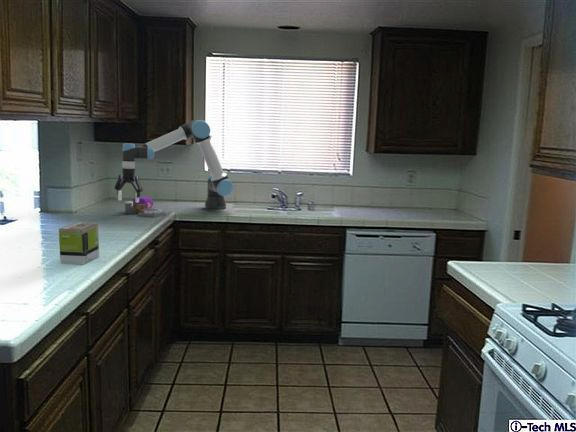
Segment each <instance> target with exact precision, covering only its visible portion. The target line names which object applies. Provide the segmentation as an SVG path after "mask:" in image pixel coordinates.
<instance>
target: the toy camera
mask: <svg viewBox="0 0 576 432" xmlns="http://www.w3.org/2000/svg"><path fill="white" fill-rule="evenodd" d="M132 202H133V203H135V197H134V198H132ZM137 204H145V209H149V208H152V207H153V205H154V202H153V200H152V197H147V196H140V197H139V202H138V203H137Z"/></svg>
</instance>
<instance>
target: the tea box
mask: <svg viewBox="0 0 576 432" xmlns="http://www.w3.org/2000/svg"><path fill="white" fill-rule="evenodd" d="M58 239H59V240H58V242H59V259H60V260H59V261H60V264H61V265H77V266H78V265H79V266H80V265H85V264H87V263H89V262H91V261H93V260H94V259H96V258H98V257H99V258H100V248H99V247H100V244H99V243H100V241H99V224H98V222H97V223H96V222H73V223H71V224H68V225H65V226H63V227H60V228H58Z"/></svg>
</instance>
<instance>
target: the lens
mask: <svg viewBox="0 0 576 432" xmlns="http://www.w3.org/2000/svg"><path fill="white" fill-rule="evenodd" d="M125 214H126V215H127V216H131V215H134V213H133V200H132V201H127V200H125V202H124V215H125Z"/></svg>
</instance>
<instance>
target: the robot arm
mask: <svg viewBox="0 0 576 432" xmlns="http://www.w3.org/2000/svg"><path fill="white" fill-rule="evenodd" d="M212 137H213V136H212V133H211V126H210V124H209V122H207V121H206V120H203V119H192V120H190V121H188V122H186V123H184V124H183V125H180V126H179V127H178V129H175V130H173V131H171V132H169V133H166V134H163V135H161V136H160V137H157V138H155V139H152V140H150V141H148V142H145V143H143V144H141V145H137V146H136V145H135V143H128V142H127V143H126V142H124V143H123V144H122V154H121V155H122V161H121V162H122V164H121V165H122V169H121V171H122V174H118V177H117V178H118V179H117V181H116V184H115V185H114V190H116V192H117V193H116V195H117V201H122V199H123V197H122V196H123V193H122V192H123V190H122V189H123V188H124V186H125V184H127V183H128V184H131V186H132V187H133V188H134V190H135V192H134V193H135V195H134V196H135V197H134V198H135V203H138V202H139V197H141V192H143V191H144V190H143V187H142V184H141V181H140V177H139V176H138V175H137V176H135V174H136V170H135V167H136V159H137V160H139V159H141V160H153V159H154V158H155V153H156V152H158V151H160V150H163V149H164V148H167V147H169V146H171V145H173V144H175V143H178V142H180V141H182V140H189V139H193V141H194V144H197V145H198V147H199V149H200V151H201V154H202V156H203V158H204V161H205V164H206V167H207V169H208V171H209V173H210V175H209V176H208V177H207V180H206V181H207V189H206V190H207V194H206V195H207V196H206V199H205V200H206V201H205V203H204V209H207V210H223V209H224V210H225V209H227V204H226V203H227V202H226V200H225V197H227V196H229V195H230V194H232V192H233V191H234V184H233V182H232V181H231V180H230V179H229V176H228V174H227V173H226V172H224V170H223V167H222V164H221V162H220V159H219V158H218V154H217V153H216V150H215V148H214V145H213V143H212Z"/></svg>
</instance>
